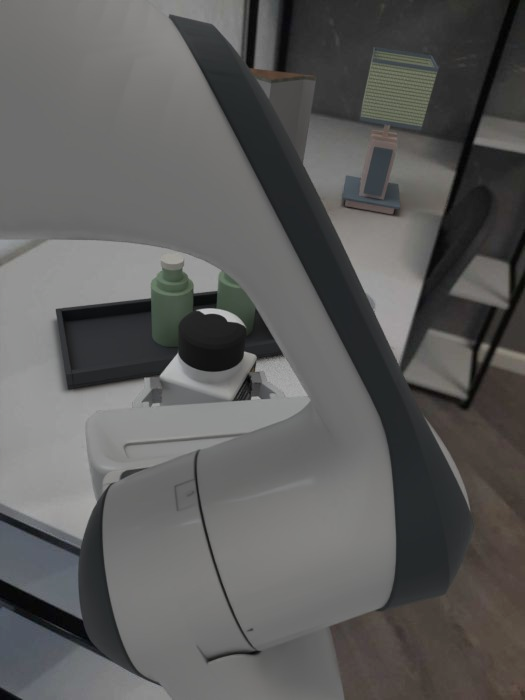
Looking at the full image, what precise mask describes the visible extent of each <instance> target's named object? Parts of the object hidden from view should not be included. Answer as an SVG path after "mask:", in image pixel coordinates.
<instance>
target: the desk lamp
mask: <svg viewBox="0 0 525 700" xmlns="http://www.w3.org/2000/svg"><path fill="white" fill-rule="evenodd" d="M438 72H439V66H438V64H437V62H436V61H435V59H434V57H433V55H430V54H429V55H428V54H422V53H416V52H409V51H403V50H396V49H389V48H382V47H375V46H374V47H373V50H372V56H371V61H370V66H369V69H368V75H367V80H366V85H365V90H364V94H363V99H362V103H361V109H360V115H359V121H361V122H366V123H372V124H378V125H384V127H383V130H380V129H372V128H371V129H372V130H371V133H370V138H369V142H368V145H367V151H366V155H365V159H364V163H363V168H362V173H361V177H360V176H359V177H358V176H352V175H348V174H347V175H345V179H344V184H343V191H342V197H341V200H343V201H345V202H344V203H345V204H344V206H345V207H349V208H354V209H360V210H365V211H371V212H377V213H383V214H389V215H394V212H395V210H400V209H401V201H400V199H401V198H400V188H399V183H395V182H394V183H393V182H389V181H390V177H391V172H392V170H393V166H394V162H395V158H396V154H397V150H398V148H399V147H398V146H399V143H398V141H399V140H398V139H399V138H398V137H397V136H398V133H397V132H393V131H392V132H391V131H390V129H391V127H395V128H396V127H397V128H403V129H409V130H414V131H415V130H416V131H420V132H421V131H422V129H423V124H424V121H425V117H426V114H427V111H428V110H427V109H428V106H429V102H430V99H431V96H432V92H433V89H434V85H435V81H436V78H437V74H438Z"/></svg>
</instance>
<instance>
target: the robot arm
mask: <svg viewBox="0 0 525 700" xmlns="http://www.w3.org/2000/svg"><path fill="white" fill-rule="evenodd" d="M249 68H250V67H249V66H248V64H247V63H246V62H245V61H244V59H243V58H242V56H241V55H240V54H239V52H238V51H237V50H236V49H235V47H234V46H233V45H232V44H231V42H230V41H229V40H228V39H227V38H226V37H225V36H224V34H222V33H221V32H220V30H219V29H218V28H217V27H216V26H215V25H214V24H212V23H209V22H205V21H201V20H197V19H192V18H188V17H185V16H184V17H183V16H179V15H175V14H171V13H170V14H168V15H167V14H165V12H163V11H162V10H160V8H158V7H157V6H156V5H155V4H154V3H152V2H151V1H150V0H0V241H1V240H3V241H4V240H5V241H7V240H8V241H9V240H11V241H13V240H14V241H16V240H17V241H18V240H20V241H22V240H28V241H29V240H31V241H34V240H42V241H43V240H47V241H48V240H49V241H50V240H51V241H52V240H53V241H57V240H58V241H59V240H60V241H63V240H64V241H100V242H113V243H114V242H115V243H128V244H135V245H143V246H151V247H156V248H161V249H166V250H171V251H174V252H179V253H183V254H186V255H189V256H191V257H194V258H196V259H199V260H201V261H204V262H206V263H208V264H209V265H211V266H213V267H215V268H216V269H219V270H220V272H221V271H223V272H224V273H225V274H227V275H228V276H229V277H231V278H232V279H233V280H234V281H235V282H236V283H237V284H238V285H239V286H240V287H241V288H242V289H243V290H244V291H245V293H246V294H247V295H248V297H249V298H250V300H251V301H252V303H253V304H254V306H255V307H256V309H257V311H258V312H259V314H260V316H261V318H262V319H263V321H264V323H265V324H266V326H267V328H268V329H269V331H270V333H271V334H272V336H273V338H274V339H275V341H276V343H277V345H278V346H279V348H280V350H281V351H282V353H283V354H282V355H283V357H284V358H285V360H286V362H287V363H288V365H289V367H290V368H291V370H292V372H293V373H294V375H295V377H296V379H297V380H298V381H299V383H300V385H301V387H302V388H303V390H304V392H305V394H306V395H303V396H290V397H288V396H286V394H285V392H284V391H283V390H282V389H280V388H278V387H277V386H276V385H275V384H273V383H271V382H270V381H268V378H267V376H266V373H265V370H261V371H255V372H248V379H247V387H248V389H249V394H250V397H251V398H257V397H258V398H259V399H251V400H243V401H229V402H214V403H200V404H185V405H170V406H159V405H157V406H153V404H159V403H162V385H161V377H160V376H154V377H153V376H152V377H151V376H149V377H143V384H144V385H143V387H144V388H143V389H142V391H140V393H138V395H137V396H136V397H135V398H134V400H133V401H132V403H131V406H132V407H131V408H130V407H129V408H128V407H127V408H115V409H100V410H97V411H95V412H93V413H92V414H91V415H90V416H89V417H88V418H87V419H86V420H85V426H84V427H85V441H86V452H87V460H88V467H89V473H90V480H91V484H92V490H93V494H94V498H95V500H96V503H95V504H94V507H93V509H92V511H91V513H90V516H89V517H88V521H87V524H86V527H85V530H84V533H83V535H82V541H81V545H80V548H79V555H78V566H77V567H78V570H77V586H78V588H77V589H78V601H79V609H80V614H81V618H82V619H81V620H82V623H83V627H84V630H85V633H86V635H87V637H88V639H89V640H90V642H91V643H92V644H93V646H94V647H96V648H97V649H98V650H99V651H100V652H101V653H102V654H104V656H106V657H107V658H108V659H109V660H111V661H112V662H113V663H115V664H116V665H118V666H119V667H120V668H123V669H124V670H126V671H127V672H129V673H131V674H133V675H135V676H136V677H139V678H141V679H143V680H145V681H148V682H150V683H152V684H155V685H157V686H161V687H162V688H163V690H164V691H165V692H166V694H167V695H168V696H169V698H170V699H171V700H346V698H345V694H344V688H343V681H342V677H341V671H340V666H339V660H338V656H337V652H336V648H335V643H334V639H333V634H332V631H331V627H332V626H335V625H337V624H341V623H343V622H346V621H349V620H352V619H354V618H357V617H361V616H363V615H366V614H368V613H371V612H374V611H375V612H385V611H388V610H392V609H397V608H399V607H400V608H401V607H405V606H408V605H411V604H416V603H420V602H424V601H426V600H431V599H435V598H439V597H443V596H444V595H446V594H447V592H448V591H449V589H450V587H451V585H452V584H453V581H454V580H455V578H456V577H457V574H458V572H459V570H460V568H461V566H462V564H463V561H464V559H465V557H466V554H467V552H468V550H469V547H470V543H471V540H472V538H473V534H474V530H475V523H474V519H473V515H472V513H471V512H472V511H471V506H470V501H469V496H468V493H467V489H466V487H465V483H464V481H463V478H462V476H461V474H460V471H459V469H458V467H457V465H456V462H455V461H454V458H453V457H452V455H451V453H450V451H449V450H448V448H447V447H446V445H445V444H444V441H443V440H442V438H441V437H440V436H439V434H438V433H437V431H436V430H435V429H434V427H433V426H432V424H431V423H430V422H429V420H427V418H426V417H425V415H424V414H423V412H422V410H421V408H420V406H419V403H418V402H417V400H416V398H415V396H414V393H413V392H412V390H411V387H410V386H409V384H408V382H407V379H406V378H405V375H404V373H403V371H402V369H401V367H400V364H399V363H398V361H397V358H396V356H395V353H394V352H393V349H392V347H391V344H390V343H389V341H388V339H387V336H386V334H385V332H384V330H383V328H382V325H381V324H380V322H379V319H378V317H377V315H376V312H374V311H373V309H372V306H371V304H370V302H369V300H368V298H367V296H366V294H365V293H366V291H365V290H364V287H363V285H362V282H361V281H360V279H359V277H358V275H357V272H356V270H355V268H354V266H353V263H352V261H351V260H350V257H349V255H348V252H347V251H346V248H345V246H344V245H343V242H342V240H341V238H340V236H339V234H338V232H337V229H336V228H335V226H334V224H333V222H332V220H331V219H332V218H331V217H330V215H329V213H328V211H327V210H326V207H325V205H324V202H323V201H322V199H321V197H320V195H319V193H318V191H317V189H316V186H315V185H314V183H313V181H312V179H311V176H310V175H309V173H308V171H307V169H306V167H305V165H304V162H303V163H302V161H301V159H300V157H299V155H298V153H297V151H296V149H295V147H294V145H293V143H292V142H291V140H290V138H289V136H288V134H287V132H286V130H285V128H284V126H283V124H282V123H281V121H280V119H279V117H278V115H277V113H276V111H275V109H274V108H273V106H272V104H271V102H270V100H269V99H268V97H267V95H266V94H265V92H264V90H263V89H262V87H261V86H260V84H259V83H258V81H257V80H256V78H255V76H254V75H253V73H252V72H251V70H250V69H249Z"/></svg>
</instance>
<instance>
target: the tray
mask: <svg viewBox="0 0 525 700" xmlns="http://www.w3.org/2000/svg"><path fill="white" fill-rule="evenodd" d="M217 292H218V290H213V291H201V292H193V311H196V310H200V309H208V308H212V309H216V308H217ZM55 316H56V321H57V329H58V334H59V335H58V336H59V341H60V348H61V354H62V355H61V356H62V360H63V361H62V362H63V367H64V375H65V381H66V387H67V390H70V389H71V390H72V389H76V388H83V387H89V386H90V387H91V386H95V385H102V384H107V383H114V382H119V381H126V380H131V379H137V378H146V377H151V376H157V375H161V374H162V372H163V371H164V370H165V368H166V367H167V366H168V365H169V363H170V362H171V361H172V360H173V358H174V357H175V356H176V355H177V353H178V347H166V346H162V345H160V344H158V343H156V342H155V341H154V339H153V338H152V315H151V297H148V298H140V299H130V300H123V301H113V302H105V303H95V304H86V305H76V306H69V307H61V308H60V307H58V308H55ZM244 352H248V353H251V354H254V355H256V356H257V359H260V358H266V357H273V356H279V355H283V353H282V351H281V350H280V348H279V346H278V345H277V343H276V341H275V339H274V338H273V336H272V334H271V333H270V331H269V329H268V328H267V326H266V324H265V323H264V321H263V319H262V318H261V316H260V314H259V312H258V311H257V309H256V308H255V317H254V325H253V331H252V332H251V333H250V334H249V335H247V336H246V340H245V349H244Z"/></svg>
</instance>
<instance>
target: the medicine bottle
mask: <svg viewBox="0 0 525 700" xmlns="http://www.w3.org/2000/svg"><path fill="white" fill-rule="evenodd" d="M246 332H247V331H246V326H245V325H244V323H243V322H242V321H241V320H240V318H238V317H237V316H236V315H234V314H232V313H230V312H228V311H225V310H221V309H212V308H208V309H200V310H196V311H193V312H191V313H189V314H188V315H186V316H185V317H184V318H183V319H182V320H181V321H180V323H179V327H178V353H177V355H176V356H175V357H174V358H173V360H172V361H171V362H170V363H169V365H168V366H167V367H166V368H165V370H164V371H163V372H162V374H159V377H161V385H162V403H158V406H170V405H185V404H200V403H214V402H229V401H243V400H252V397H250V394H249V389H248V387H247V379H248V372H256V367H257V361H258V360H257V359H258V358H257V356H256V355H254V354H251V353H248V352H244V349H245V340H246Z"/></svg>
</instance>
